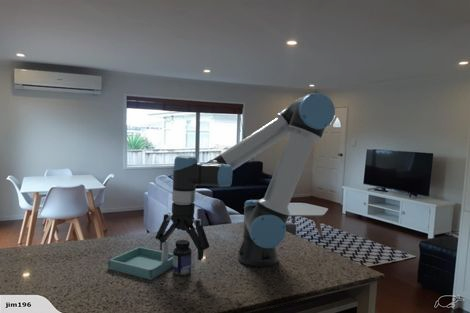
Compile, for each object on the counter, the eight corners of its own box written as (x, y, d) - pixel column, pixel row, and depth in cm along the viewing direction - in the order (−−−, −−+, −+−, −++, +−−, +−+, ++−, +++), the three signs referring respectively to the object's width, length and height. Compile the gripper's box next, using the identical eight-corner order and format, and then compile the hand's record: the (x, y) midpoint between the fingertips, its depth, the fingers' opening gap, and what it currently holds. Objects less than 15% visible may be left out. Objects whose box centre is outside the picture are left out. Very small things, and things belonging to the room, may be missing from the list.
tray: (178, 263, 126) (178, 254, 125) (150, 279, 111) (150, 270, 111) (139, 254, 133) (139, 246, 133) (108, 268, 118) (108, 260, 118)
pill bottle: (192, 270, 120) (193, 239, 119) (188, 277, 113) (189, 245, 113) (175, 269, 120) (176, 238, 119) (170, 276, 114) (171, 244, 113)
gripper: (221, 205, 113) (217, 268, 115) (160, 195, 123) (157, 253, 125) (210, 209, 107) (207, 276, 108) (146, 198, 117) (144, 260, 118)
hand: (180, 264), depth 117 cm, fingers open, 12 cm apart
